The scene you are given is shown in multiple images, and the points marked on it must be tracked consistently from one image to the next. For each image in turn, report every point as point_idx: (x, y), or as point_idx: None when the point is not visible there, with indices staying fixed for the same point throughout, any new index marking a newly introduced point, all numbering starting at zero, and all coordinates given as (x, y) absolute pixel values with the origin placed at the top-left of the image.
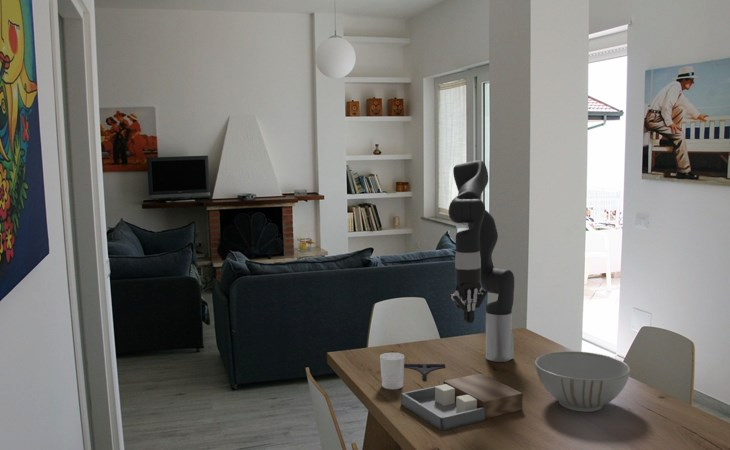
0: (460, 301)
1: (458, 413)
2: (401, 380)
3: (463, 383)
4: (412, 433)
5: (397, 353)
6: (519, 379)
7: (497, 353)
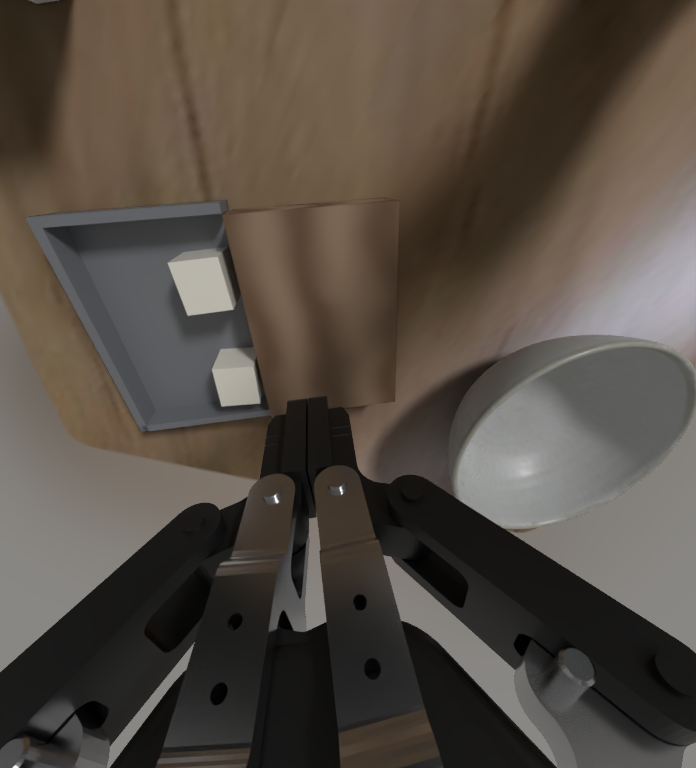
0: (139, 696)
1: (193, 422)
2: None
3: (284, 275)
4: (75, 405)
5: None
6: (554, 175)
7: None
